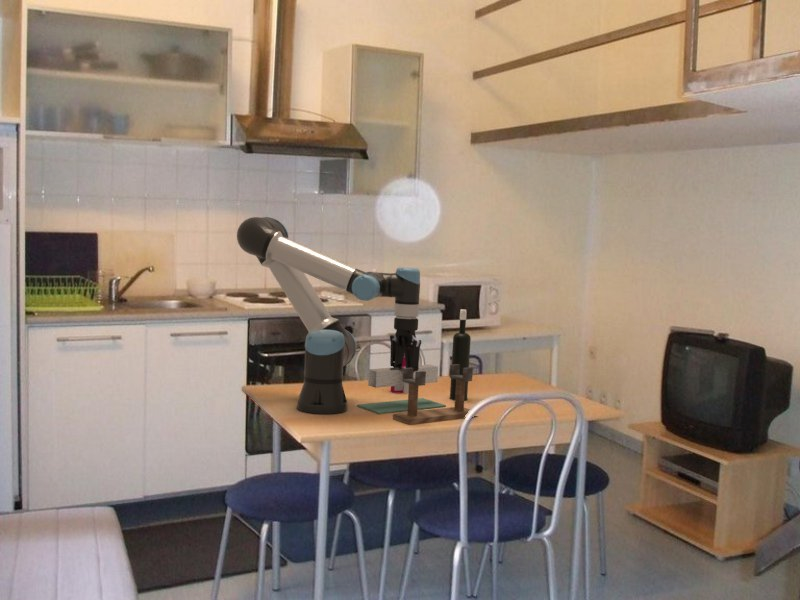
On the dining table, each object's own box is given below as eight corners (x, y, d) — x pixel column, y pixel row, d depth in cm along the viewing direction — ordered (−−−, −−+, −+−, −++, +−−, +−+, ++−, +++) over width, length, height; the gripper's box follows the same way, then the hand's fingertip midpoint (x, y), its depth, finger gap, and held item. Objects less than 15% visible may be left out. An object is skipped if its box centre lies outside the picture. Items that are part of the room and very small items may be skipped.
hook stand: (409, 424, 251) (411, 373, 250) (392, 419, 257) (395, 368, 256) (477, 416, 267) (480, 367, 265) (460, 411, 273) (462, 363, 272)
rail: (375, 387, 266) (376, 371, 266) (368, 385, 269) (368, 369, 269) (437, 382, 280) (438, 366, 280) (429, 379, 284) (430, 364, 283)
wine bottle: (455, 396, 296) (460, 308, 293) (470, 399, 293) (475, 309, 290) (446, 398, 291) (451, 308, 289) (461, 401, 288) (466, 310, 285)
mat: (378, 414, 263) (379, 412, 263) (356, 406, 273) (356, 404, 273) (445, 406, 279) (446, 405, 278) (422, 399, 288) (422, 398, 288)
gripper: (432, 320, 268) (429, 395, 271) (399, 313, 282) (396, 385, 284) (413, 320, 264) (409, 397, 266) (380, 314, 278) (377, 387, 280)
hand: (403, 391), depth 275 cm, fingers closed on rail, 4 cm apart
